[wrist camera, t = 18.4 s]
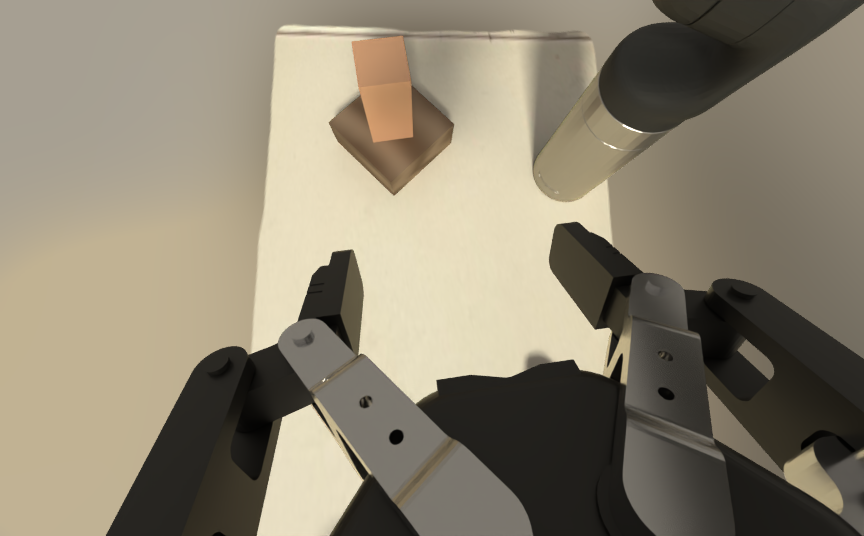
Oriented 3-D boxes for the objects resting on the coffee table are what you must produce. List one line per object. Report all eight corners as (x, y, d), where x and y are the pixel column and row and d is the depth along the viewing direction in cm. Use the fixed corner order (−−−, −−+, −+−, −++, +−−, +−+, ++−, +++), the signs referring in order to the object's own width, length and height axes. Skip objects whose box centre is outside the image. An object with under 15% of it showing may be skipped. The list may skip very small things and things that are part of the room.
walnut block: (395, 93, 48) (392, 68, 43) (450, 144, 47) (454, 124, 42) (338, 143, 46) (328, 122, 41) (394, 196, 45) (390, 182, 40)
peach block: (406, 101, 42) (402, 35, 32) (413, 137, 41) (411, 80, 32) (367, 106, 42) (351, 41, 32) (373, 142, 41) (358, 87, 31)
